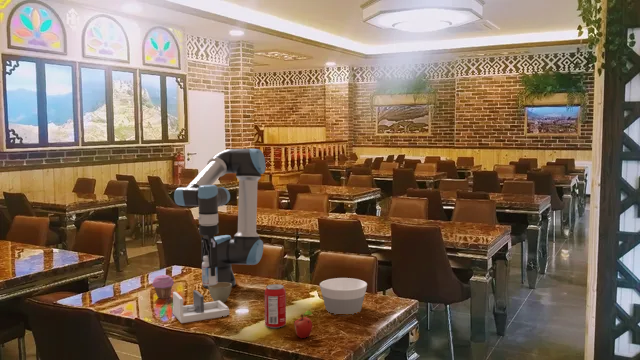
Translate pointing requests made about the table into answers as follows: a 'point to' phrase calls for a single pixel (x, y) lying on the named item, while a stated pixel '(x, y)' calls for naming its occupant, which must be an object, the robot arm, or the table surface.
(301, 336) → the apple
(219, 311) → the white open tray
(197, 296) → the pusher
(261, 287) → the table surface
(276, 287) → the soda can
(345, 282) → the bowl
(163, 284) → the cupcake
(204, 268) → the pill bottle
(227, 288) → the flower pot
